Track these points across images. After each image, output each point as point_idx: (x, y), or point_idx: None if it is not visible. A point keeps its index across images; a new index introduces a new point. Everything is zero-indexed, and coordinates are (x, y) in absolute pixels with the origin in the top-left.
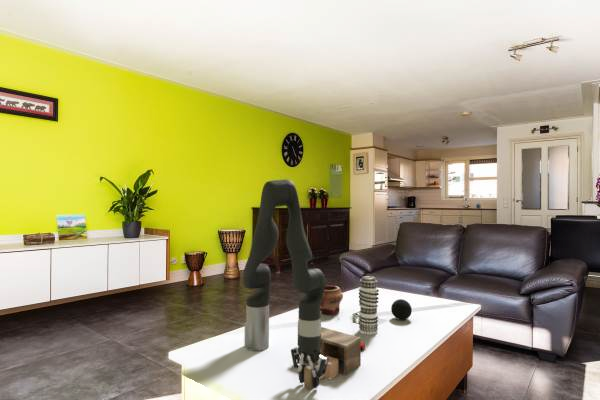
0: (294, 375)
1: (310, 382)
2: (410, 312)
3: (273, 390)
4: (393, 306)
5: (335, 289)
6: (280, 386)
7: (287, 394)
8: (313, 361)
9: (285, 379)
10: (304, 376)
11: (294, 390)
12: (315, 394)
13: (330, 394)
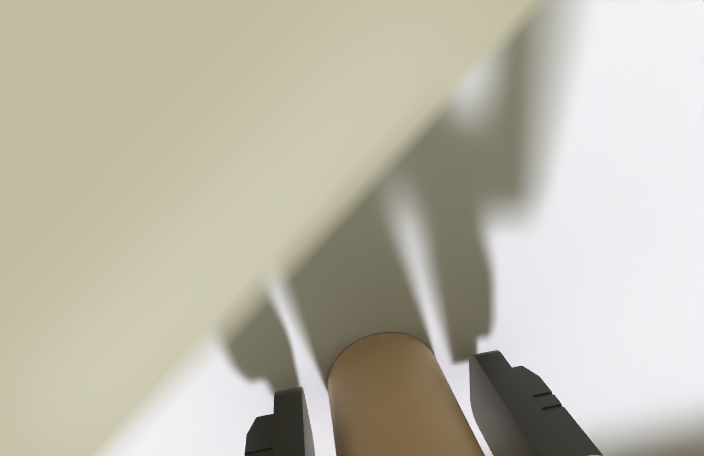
0: (649, 405)
1: (345, 421)
2: None
3: (667, 11)
4: None
5: None
6: (647, 151)
7: (461, 85)
8: None
9: (684, 293)
10: (458, 438)
11: (457, 217)
12: (217, 339)
13: (109, 452)
